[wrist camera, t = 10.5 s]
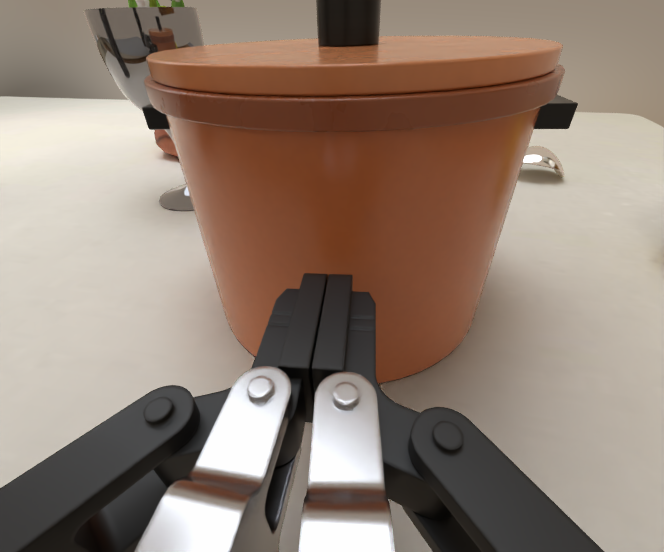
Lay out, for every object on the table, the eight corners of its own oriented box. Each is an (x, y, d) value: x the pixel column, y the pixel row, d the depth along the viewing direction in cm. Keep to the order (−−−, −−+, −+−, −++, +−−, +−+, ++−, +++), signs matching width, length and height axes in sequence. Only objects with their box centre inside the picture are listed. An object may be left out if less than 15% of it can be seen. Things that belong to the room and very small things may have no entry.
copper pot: (550, 408, 15) (860, -66, 6) (145, 379, 17) (-88, -18, 8) (467, 225, 28) (524, -7, 19) (247, 219, 30) (204, 5, 21)
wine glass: (205, 175, 39) (162, 11, 30) (251, 190, 35) (218, 7, 26) (139, 199, 34) (64, 11, 25) (184, 220, 30) (115, 6, 21)
